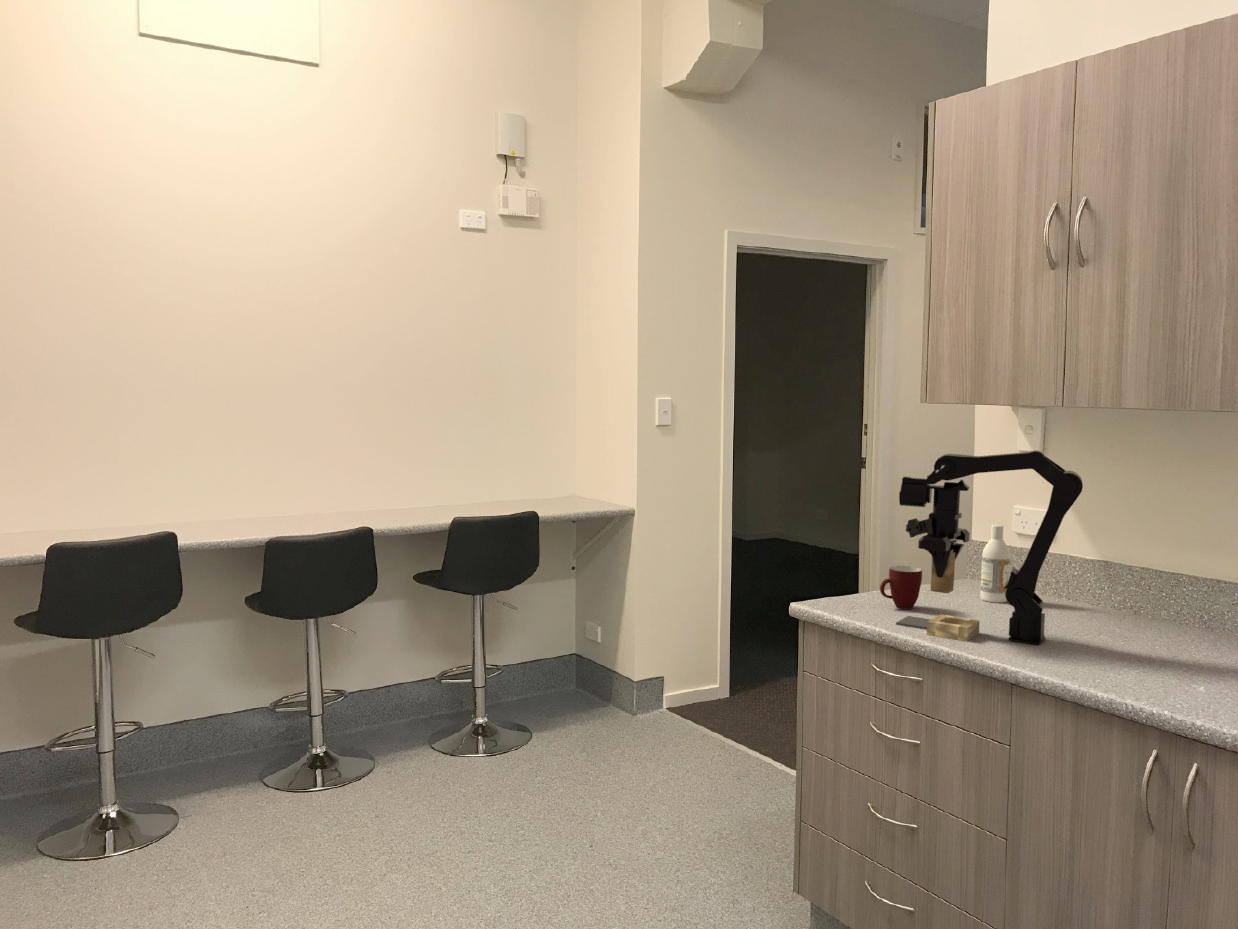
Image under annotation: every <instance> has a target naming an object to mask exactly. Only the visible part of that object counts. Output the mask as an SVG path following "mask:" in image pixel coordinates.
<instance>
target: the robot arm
mask: <svg viewBox="0 0 1238 929" xmlns="http://www.w3.org/2000/svg"><path fill="white" fill-rule="evenodd" d="M1019 470H1022V471H1023V470H1033V471H1035V472H1036V473H1037V474H1038V475H1039V476H1041V477H1042V478H1043V479H1044V480H1045V481H1046V482H1047V483H1049V484H1050V485H1052V490H1051V494H1050V498H1049V503H1048V508H1046V512H1045V514H1044V517H1043V519H1042V521H1041V523H1040V525H1039V528H1038V530H1037V532H1036V535H1035V536H1034V539H1033V541H1032V543H1031V545H1030V548H1029V550H1028V552H1027V555H1026V557H1025V559H1024V561H1023V563H1022V565H1021V566H1020V567H1019V569H1017V568H1015V567H1012V569H1011V571H1010V577H1009V580H1007V581H1006V583H1005V586H1004V589H1007V590H1006V594H1005V597H1006V599H1007V603H1008V604H1009V605H1010V606H1012V607H1013V608H1014V610H1013V611H1012V615H1011V617H1010V618H1009V624H1008V636H1009V637H1008V640H1009V641H1012V642H1013V641H1014V642H1020V643H1024V644H1025V643H1027V644H1032V645H1040V644H1042V643H1043V642H1044V641H1046V639H1047V637H1046V636H1045V622H1046V621H1045V618H1046V614H1045V613H1043V610H1044V600H1043V599H1041V597H1040V596H1039V595H1038V594H1037V593H1036V587H1037V583H1038V579H1039V574H1040V571H1041V568H1042V566H1043V564H1044V561H1045V560H1046V557H1047V556H1048V553H1049V551H1050V548H1051V546H1052V544H1053V542H1054V540H1055V537H1056V535H1057V533H1058V530H1059V528H1060V526H1061V524H1062V522H1063V519H1064V517H1065V515H1066V514H1067V513H1068V511H1069V510H1070V509H1071V507H1072V506H1073V504H1075V502H1076V500H1077V499H1079V496H1080V495H1081V493H1082V492H1083V488H1084V487H1083V486H1084V485H1083V479H1082V477H1081V476H1080V475H1079V474H1078V472H1075V471H1072V470H1065V469H1064V468H1063V467H1062V466H1060V465H1059V464H1058V463H1056V462H1054V461H1053V460H1052V459H1051V458H1048V457H1047V456H1046V455H1045V454H1044V453H1043V451H1040V450H1036V449H1034V450H1031V451H1027V452H1026V451H1025V452H1015V453H1014V452H1013V453H1003V454H1002V453H1001V454H992V455H991V454H989V455H980V456H979V455H969V454H959V453H945V454H943V455H942V456H940V457H938V458H937V459H936V460H935V462H934V464H933V471H932V472H931V473H930V474H928V475H927V476H926V478H921V477H918V478H917V477H912V476H903V477H902V478H901V479H902V480H901V484H900V490H899V494H898V495H899V496H898V497H899V498H898V499H899V506H901V507H902V506H904V507H916V508H918V507H919V508H926V507H927V506H926V505H927V504H931V503H932V496H933V506H932V512H930V513H929V514H928V518H926V519H921V520H919V519H918V518H916V517H915V518H911V519H909V520H908V521H907V524H906V525H905V527H906V528H905V532H907V533H908V535H909V538H911V539H912V538H914V537H917V536H920V535H923V536H921V537H920V538H919V539H918V545H917V546H918V547H917V548H918V549H920V550H921V549H922V550H924V551H927V552H928V553H929V554H930V555H931V559H932V558H933V562H934V566H935V570H936V574H937V577H940V578H941V577H943V574H944V572H945V570H946V567H947V565H948V562H949V560H950V557H951V555H952V553H953V552H955V561H957V558H958V556H959V555H960V553H961V551H962V549H963V547H965V544H964V543H967V542H970V532H969V531H968V530H967V529H966V528H960V527H959V520H960V519H962V512H960V502H961V501H960V499H961V492H962V491H963V492H968V491H969V490H970V486H969V485H968V484H966V483H965V480H964V479H961V478H965V477H968V476H971V475H976V474H982V473H983V474H984V473H994V472H995V473H996V472H1006V471H1019ZM957 479H960V480H959V482H952V481H953V480H957ZM941 481H945V482H944V484H943V485H936V484H937V483H939V482H941ZM932 491H933V492H932ZM932 494H933V495H932ZM924 534H926V535H924ZM959 541H963V543H959Z"/></svg>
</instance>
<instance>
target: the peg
mask: <svg viewBox="0 0 1238 929" xmlns="http://www.w3.org/2000/svg"><path fill="white" fill-rule="evenodd" d="M955 565H956V560H955V552H953V553H952V555H951V557H950V560H949V562H948V565H947V567H946V570H945V572H944V574H943V577H941V578H940V577H937V574H936V570H935V566H934V562H933V558H932V557H931V574H930V577H931V578H930V592H934V593H942V594H950V593H952V592H953V591H954V583H955Z"/></svg>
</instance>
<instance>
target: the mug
mask: <svg viewBox="0 0 1238 929" xmlns="http://www.w3.org/2000/svg"><path fill="white" fill-rule="evenodd" d="M922 581H923V569H922V568H919V567H915V566H911V565H910V566H908V565H894V566H890V567H889V569H888V578H885V579H883V581H881V584H879V585H880V586H879V591H880V594H881V595H882V596H883V597H884V598H887V599H890V600H892V601H893V603H894V606H895V607H896V608H897V609H900V610H911V609H913V608H914V606H915V604H916V603H917V601H918V598H919V595H920V590H921V586H922ZM887 584H889V589H890V595H888V594H886V592H885V587H886V585H887Z"/></svg>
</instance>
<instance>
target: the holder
mask: <svg viewBox="0 0 1238 929" xmlns="http://www.w3.org/2000/svg"><path fill="white" fill-rule="evenodd" d="M979 633H980V619H974V618H969V617H968V618H967V617H961V616H955V615H948V614H939V615H937V616H935V617H934V618H932V619H931V620H930V621H928V622H927V629H926V635H927V636H931V637H932V636H934V637H938V638H943V639H944V638H946V639H952V640H957V641H962V642H968V641H970V640H971V639H972V638H974V637H975V636H976V635H978V634H979Z"/></svg>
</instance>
